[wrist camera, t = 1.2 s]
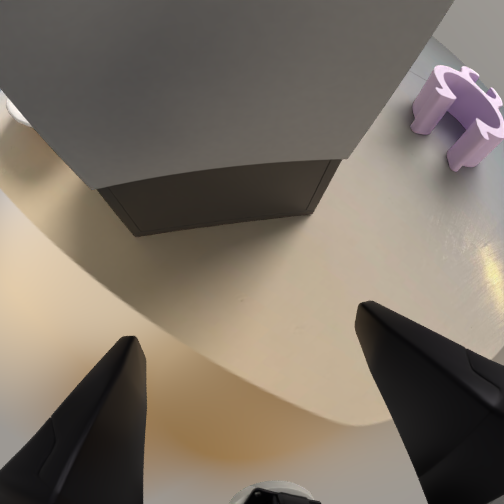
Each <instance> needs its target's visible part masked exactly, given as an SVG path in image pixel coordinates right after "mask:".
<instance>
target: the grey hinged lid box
mask: <svg viewBox="0 0 504 504" xmlns="http://www.w3.org/2000/svg"><path fill="white" fill-rule="evenodd" d="M341 161H342V159H330V160H306V161H289V162H274V163H262V164H251V165H241V166H232V167H223V168H215V169H207V170H199V171H192V172H185V173H179V174H172V175H166V176H160V177H154V178H149V179H143V180H138V181H132V182H127V183H122V184H118V185H113V186H108V187H104V188H99V189H97V191H98V192H99V193H100V194H101V196H102V197H103V198H104V200H105V201H106V202H107V203H108V205H109V206H110V207H111V208H112V210H113V211H114V212H115V213H116V215H117V216H118V217H119V218H120V219H121V221H122V222H123V223H124V224H125V225H126V227H127V228H128V229H129V230H130V231H131V233H132V234H133V235H134V236H135V237H139V236H145V235H152V234H158V233H165V232H172V231H179V230H186V229H193V228H201V227H208V226H215V225H223V224H231V223H239V222H247V221H255V220H263V219H272V218H281V217H290V216H299V215H308V214H313V212H314V210H315V209H316V207H317V205H318V203H319V201H320V199H321V198H322V196H323V194H324V192H325V190H326V188H327V187H328V185H329V183H330V181H331V179H332V177H333V176H334V174H335V172H336V170H337V168H338V166H339V164H340V162H341Z"/></svg>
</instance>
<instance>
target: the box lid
mask: <svg viewBox="0 0 504 504" xmlns="http://www.w3.org/2000/svg"><path fill="white" fill-rule="evenodd" d="M453 2H454V0H0V88H1V90H2V91H3V92H4V93H5V95H6V96H7V97H8V98H9V100H10V101H11V102H12V103H13V105H14V106H15V107H16V108H17V109H18V111H19V112H20V113H21V114H22V115H23V116H24V118H25V119H26V120H27V121H28V122H29V123H30V125H31V126H32V127H33V128H34V129H35V130H36V131H37V133H38V134H39V135H40V136H41V137H42V138H43V139H44V140H45V141H46V143H47V144H48V145H49V146H50V147H51V148H52V149H53V150H54V151H55V152H56V153H57V155H58V156H59V157H60V158H61V159H62V160H63V161H64V162H65V163H66V164H67V165H68V166H69V167H70V168H71V169H72V170H73V171H74V172H75V173H76V175H77V176H78V177H79V178H80V179H81V180H82V181H83V182H84V183H85V184H86V185H87V186H88V187H89V188H90V189H91V190H95V189H99V188H104V187H108V186H113V185H118V184H122V183H127V182H132V181H138V180H143V179H149V178H154V177H160V176H166V175H172V174H179V173H185V172H192V171H199V170H207V169H215V168H223V167H232V166H241V165H251V164H262V163H274V162H289V161H306V160H330V159H348V157H349V156H350V155H351V153H352V152H353V150H354V149H355V148H356V146H357V145H358V143H359V142H360V141H361V139H362V138H363V136H364V135H365V133H366V132H367V131H368V129H369V128H370V126H371V125H372V123H373V122H374V121H375V119H376V118H377V116H378V115H379V113H380V112H381V111H382V109H383V108H384V106H385V105H386V103H387V102H388V100H389V99H390V97H391V96H392V95H393V93H394V92H395V90H396V89H397V87H398V86H399V84H400V83H401V81H402V80H403V78H404V77H405V75H406V74H407V72H408V71H409V69H410V68H411V66H412V65H413V63H414V62H415V60H416V59H417V57H418V56H419V54H420V53H421V51H422V50H423V48H424V47H425V45H426V44H427V42H428V41H429V39H430V38H431V36H432V35H433V33H434V31H435V30H436V28H437V27H438V25H439V24H440V22H441V21H442V19H443V17H444V16H445V14H446V13H447V11H448V10H449V8H450V6H451V5H452V3H453Z"/></svg>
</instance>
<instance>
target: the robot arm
mask: <svg viewBox="0 0 504 504" xmlns="http://www.w3.org/2000/svg"><path fill="white" fill-rule="evenodd" d="M355 331H356V334H357V337H358V339H359V342H360V345H361V347H362V350H363V353H364V356H365V358H366V361H367V364H368V367H369V369H370V372H371V374H372V376H373V378H374V380H375V382H376V384H377V387H378V389H379V391H380V393H381V395H382V397H383V399H384V401H385V403H386V405H387V408H388V410H389V412H390V414H391V416H392V418H393V421H394V423H395V425H396V427H397V429H398V432H399V434H400V436H401V438H402V441H403V443H404V445H405V448H406V450H407V452H408V454H409V457H410V459H411V461H412V464H413V466H414V468H415V471H416V474H417V476H418V478H419V481H420V484H421V486H422V489H423V492H424V494H425V497H426V499H427V502H428V504H504V366H503V365H501V364H498V363H496V362H494V361H491V360H489V359H487V358H485V357H483V356H481V355H479V354H477V353H475V352H473V351H471V350H469V349H465V347H463V346H461V345H459V344H457V343H455V342H453V341H451V340H449V339H448V338H446V337H444V336H442V335H440V334H438V333H436V332H434V331H432V330H430V329H428V328H426V327H424V326H422V325H420V324H418V323H416V322H414V321H412V320H410V319H408V318H406V317H404V316H402V315H400V314H398V313H396V312H394V311H392V310H390V309H388V308H386V307H384V306H382V305H380V304H378V303H376V302H374V301H366V302H362V303H360V304H359V305H358V309H357V314H356V320H355ZM146 394H147V393H146V358H145V355H144V352H143V350H142V348H141V346H140V343H139V341H138V339H137V338H136V337H135V336H124V337H121V338H120V339H119V340H118V341H117V342H116V343H115V345H114V346H113V347H112V348H111V349H110V350H109V351H108V352H107V353H106V354H105V355H104V357H103V358H102V359H101V360H100V361H99V362H98V363H97V364H96V366H94V368H93V369H92V370H91V371H90V372H89V373H88V374H87V375H86V377H85V378H84V379H83V380H82V381H81V382H80V383H79V384H78V385H77V387H76V388H75V389H74V390H73V391H72V392H71V393H70V395H69V396H68V397H67V398H66V399H65V400H64V402H63V403H62V404H61V405H60V406H59V407H58V409H57V410H56V411H55V412H54V413H53V414H52V416H51V418H49V419H48V420H47V421H46V422H45V424H44V425H43V426H42V427H41V428H40V429H39V431H38V432H37V433H36V434H35V435H34V436H33V437H32V438H31V439H30V440H29V441H28V443H27V444H26V445H25V446H24V447H23V448H22V449H21V450H20V451H19V452H18V453H17V454H16V455H15V456H14V457H13V458H12V459H11V460H10V461H9V462H8V463H7V464H6V465H5V466H4V467H3V468H2V469H1V470H0V504H143V468H144V466H143V465H144V444H145V427H146V411H147V396H146ZM256 492H260V494H255V493H256ZM244 504H321V502H320V501H315V500H310V499H307V497H303V496H298V495H293V494H289V493H284V492H278V493H277V492H273V491H269V490H266V489H262V488H255V489H253V490H252V491H251V493H250V495H249V496H248V498H247V499H246V501H245V502H244Z"/></svg>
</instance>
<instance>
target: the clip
mask: <svg viewBox="0 0 504 504" xmlns="http://www.w3.org/2000/svg"><path fill="white" fill-rule="evenodd" d="M478 78H479V75H478V73H476V72H475V71H474V70H472V69H470V68H468V67H465V66H463V67H462V68H461V69H460V71H456V70H454V69H452V68H450V67H447V66H443V65H437V66H436V67H435V68H434V70H433V71H432V73H431V75H430V76H429V78H428V80H427V81H426V83H425V85H424V86H423V88H422V89H421V91H420V93H419V94H418V96H417V98H416V99H415V101H414V102H413V106H412V109H413V114H414V117H415V120H414V121H413V123H412V124H411V125H410V127H411V129H412V131H413V132H415V133H418V134H423V135H427V134H430V133H431V131H432V130H433V129H434V127H435V126H436V125H437V124H438V122H439V121H440V120H441V118H442V117H443V116H444V114H445V113H446V112H449V113H450V114H451V115H453V116H454V117H455V118H456V119H457V120H458V121H459V122H460V123H461V124H462V126H463V127H464V128H465V129H466V131H465V132H464V134H463V135H462V136H461V137H460V138H459V139H458V140H457V141H456V143H455V144H454V145H453V146H452V147H451V148H450V149H449V150H448V151H447V159H448V163H449V167H450V168H451V169H452V170H453V171H455V172H457V171H458V170H459V169H460V168H461V167H462V166H466V167H475V166H477V165H478V164H479V163H480V162H481V161H482V160H483V159H484V158H485V157H486V156H487V155H488V154H489V153H490V152H491V151H492V150H493V149H494V148H495V147H496V146H497V145H498V144H499V143H500V142H501V141H502V140H503V139H504V119H503V117H502V115H501V113H500V111H499V109H500V107H501V106H502V101H501V99H500V97H499V95H498V94H497V92H496V91H495V90H494V89H493V88H490V89H489V90H488V92H487V93H485V92H483V91H482V90H481V89H480V88H479V87H478V86H477V85H476V84H475V82H476V81H477V80H478Z"/></svg>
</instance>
